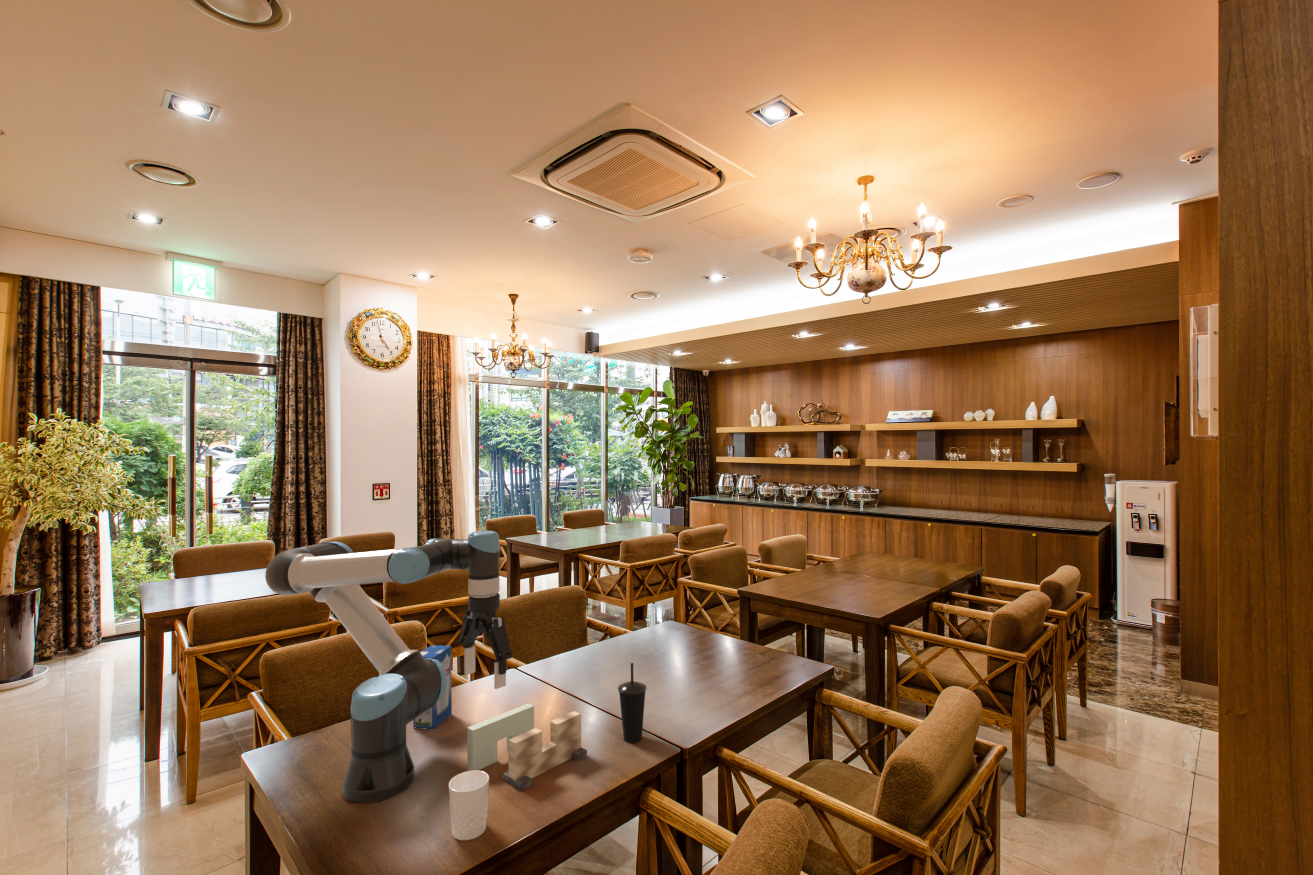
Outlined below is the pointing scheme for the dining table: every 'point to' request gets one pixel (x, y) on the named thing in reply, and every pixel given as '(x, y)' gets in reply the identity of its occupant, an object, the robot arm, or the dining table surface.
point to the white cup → (468, 804)
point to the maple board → (544, 750)
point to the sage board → (496, 735)
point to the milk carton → (444, 705)
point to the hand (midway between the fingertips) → (484, 679)
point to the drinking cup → (632, 708)
